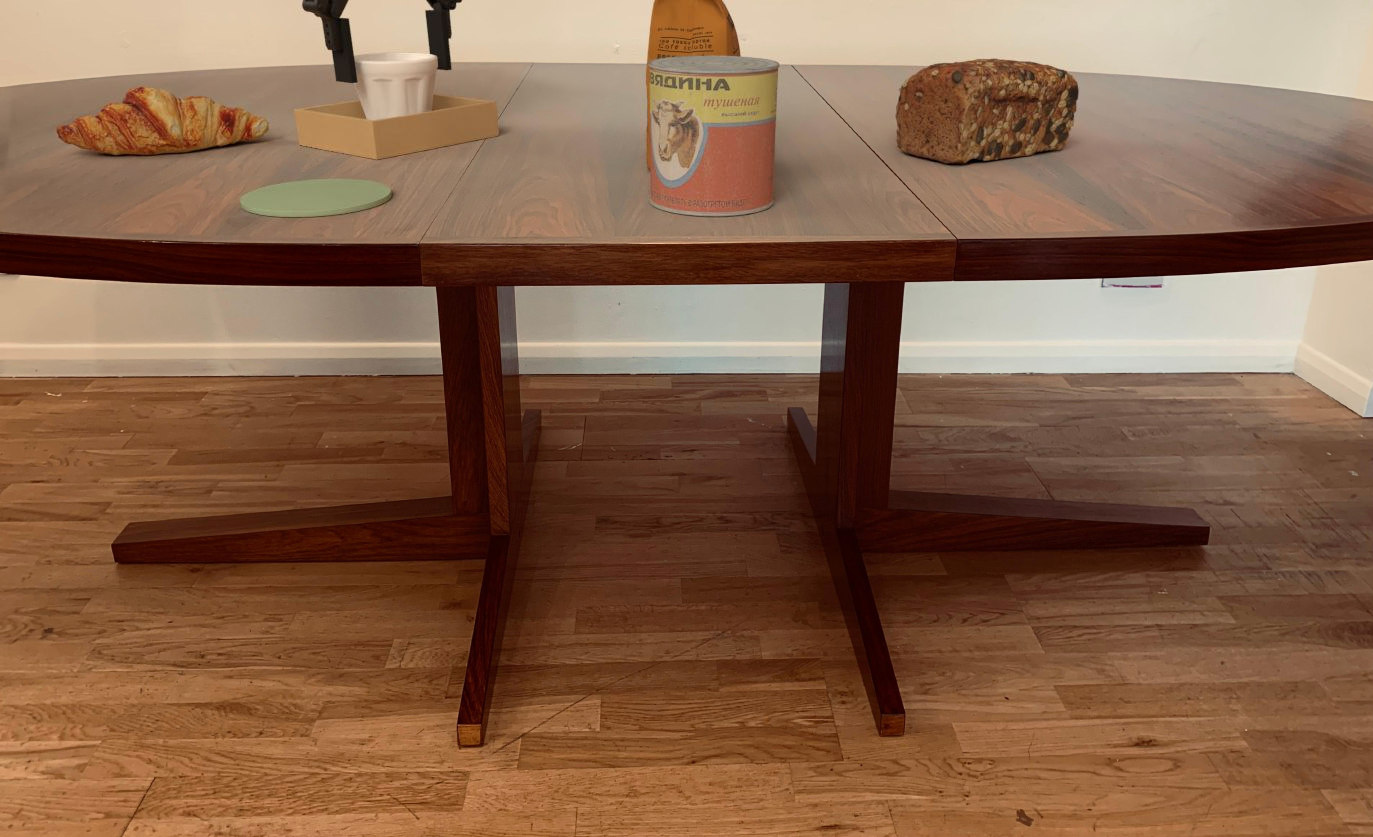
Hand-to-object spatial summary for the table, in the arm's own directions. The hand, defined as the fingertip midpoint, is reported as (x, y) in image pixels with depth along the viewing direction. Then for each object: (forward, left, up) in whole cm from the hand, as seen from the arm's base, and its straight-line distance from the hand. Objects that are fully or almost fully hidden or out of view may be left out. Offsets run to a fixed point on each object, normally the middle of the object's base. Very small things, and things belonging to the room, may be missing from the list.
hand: (396, 75), depth 115 cm
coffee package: (+35, +10, -7) cm, 37 cm away
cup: (0, 0, -7) cm, 7 cm away
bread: (+57, +35, -7) cm, 67 cm away
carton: (0, 0, -7) cm, 7 cm away
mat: (+17, -24, -7) cm, 30 cm away
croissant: (-16, -19, -7) cm, 26 cm away
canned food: (+46, -3, -7) cm, 47 cm away
